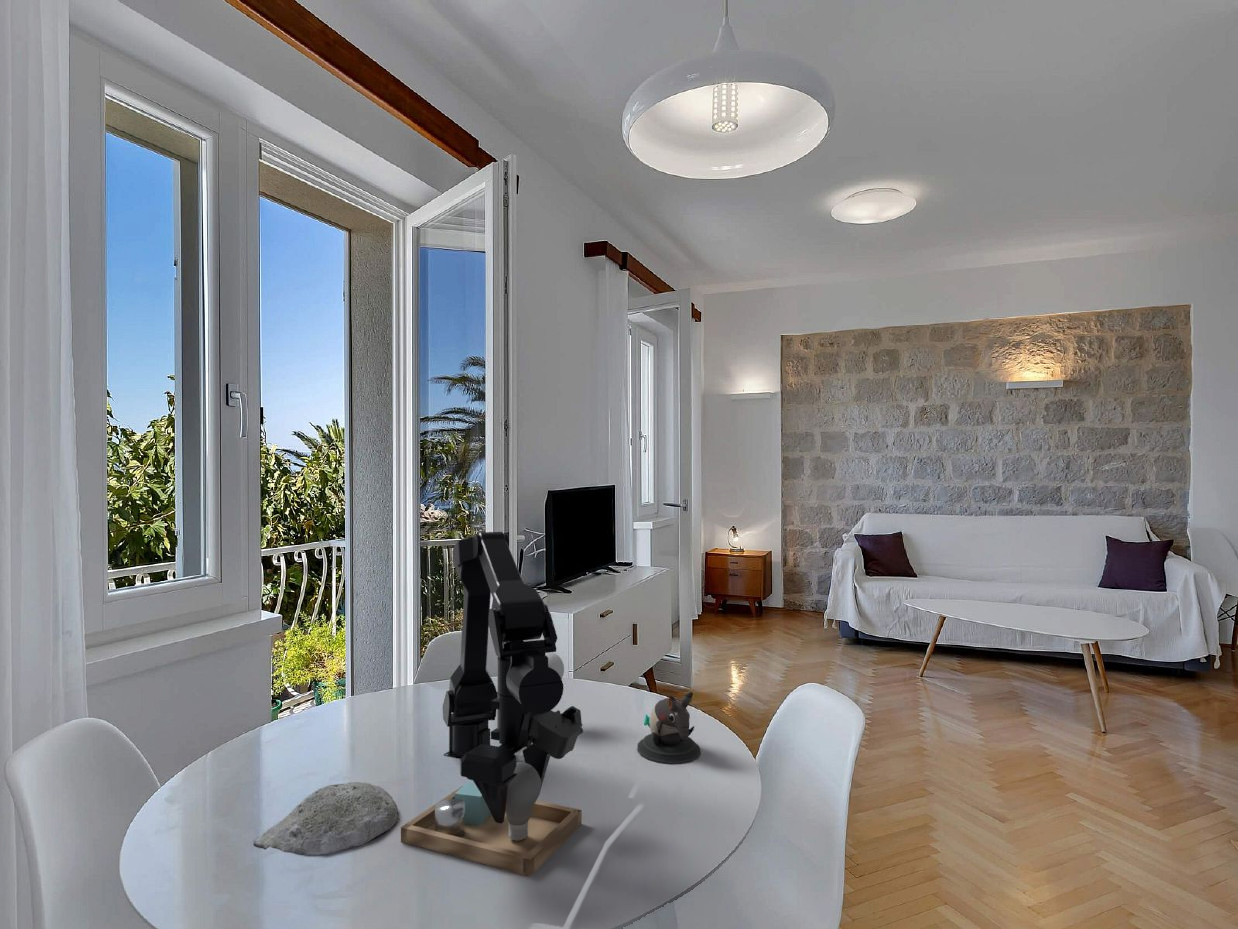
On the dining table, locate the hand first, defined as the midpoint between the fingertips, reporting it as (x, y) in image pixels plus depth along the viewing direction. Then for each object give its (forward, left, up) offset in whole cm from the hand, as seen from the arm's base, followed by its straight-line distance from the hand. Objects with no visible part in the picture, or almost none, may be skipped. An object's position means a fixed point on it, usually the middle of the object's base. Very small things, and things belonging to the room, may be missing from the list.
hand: (518, 807), depth 94 cm
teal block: (-9, +2, -4) cm, 10 cm away
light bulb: (0, 0, -4) cm, 4 cm away
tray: (-4, 0, -5) cm, 6 cm away
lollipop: (-18, +39, -5) cm, 43 cm away
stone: (-25, -7, -5) cm, 27 cm away
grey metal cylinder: (-9, -3, -4) cm, 10 cm away
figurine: (+8, +38, -5) cm, 39 cm away
